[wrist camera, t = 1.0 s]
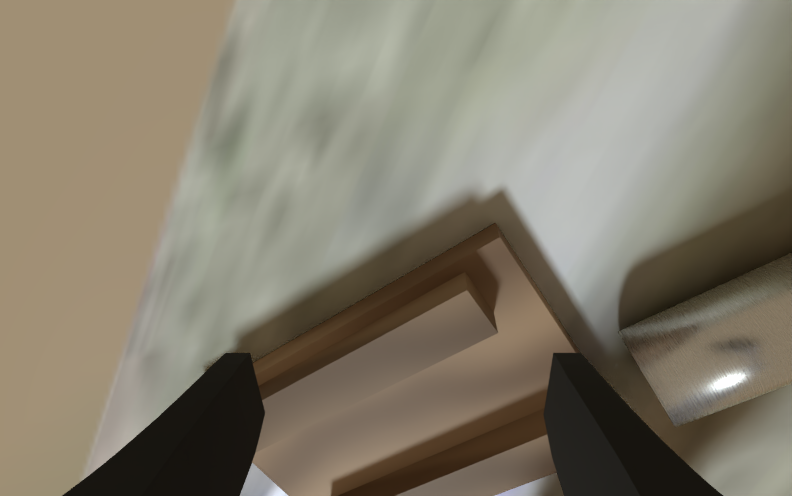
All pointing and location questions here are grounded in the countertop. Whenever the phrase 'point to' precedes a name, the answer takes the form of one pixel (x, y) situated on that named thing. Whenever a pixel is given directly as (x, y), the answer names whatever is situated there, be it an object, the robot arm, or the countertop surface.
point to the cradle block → (418, 385)
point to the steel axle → (719, 344)
